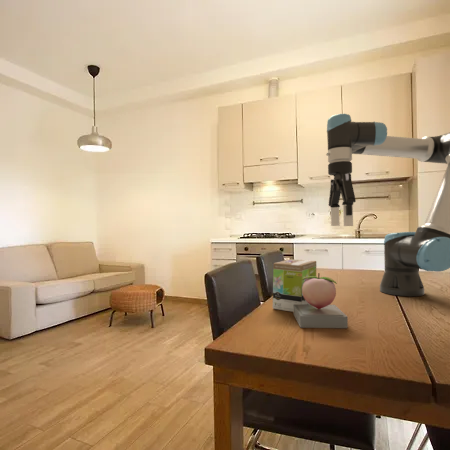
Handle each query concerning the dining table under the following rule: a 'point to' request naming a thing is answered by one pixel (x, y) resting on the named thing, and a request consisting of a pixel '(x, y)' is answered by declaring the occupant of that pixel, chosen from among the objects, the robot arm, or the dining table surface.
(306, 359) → the dining table surface
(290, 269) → the tea box
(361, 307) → the dining table surface
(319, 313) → the slate trivet
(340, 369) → the dining table surface
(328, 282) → the decorative fruit
